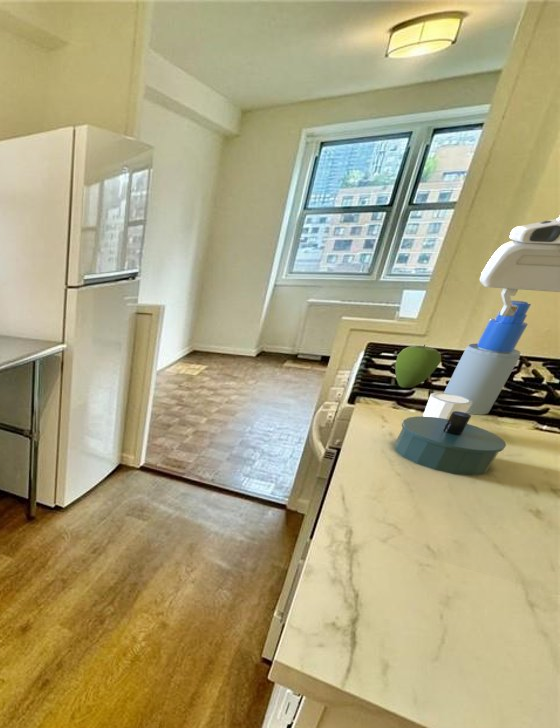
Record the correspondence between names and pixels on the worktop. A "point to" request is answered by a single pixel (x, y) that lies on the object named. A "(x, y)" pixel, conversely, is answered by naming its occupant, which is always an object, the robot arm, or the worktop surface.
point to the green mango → (416, 365)
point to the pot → (442, 456)
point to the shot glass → (445, 405)
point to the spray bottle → (489, 361)
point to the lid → (454, 433)
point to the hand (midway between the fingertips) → (544, 319)
